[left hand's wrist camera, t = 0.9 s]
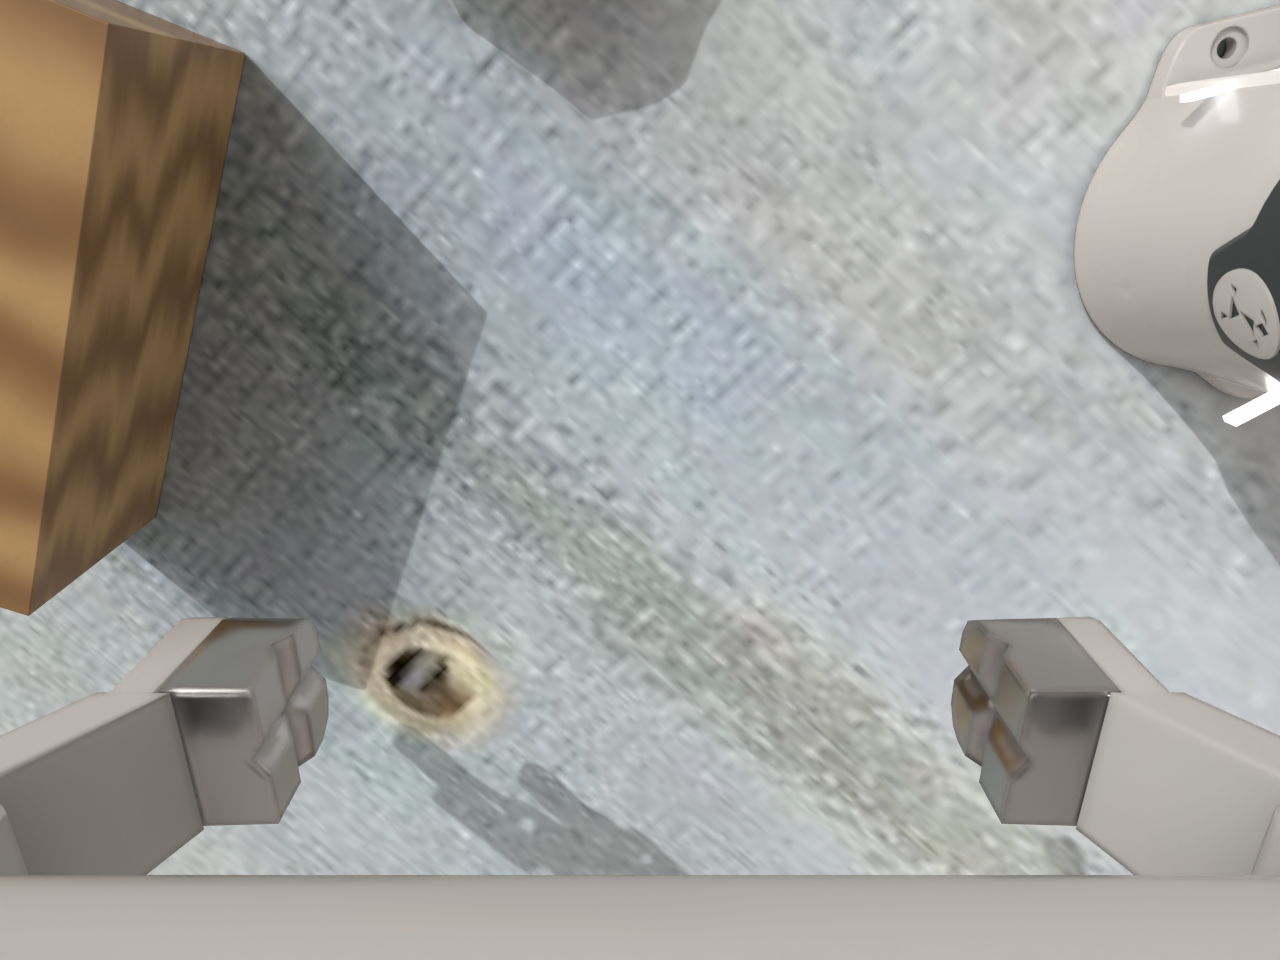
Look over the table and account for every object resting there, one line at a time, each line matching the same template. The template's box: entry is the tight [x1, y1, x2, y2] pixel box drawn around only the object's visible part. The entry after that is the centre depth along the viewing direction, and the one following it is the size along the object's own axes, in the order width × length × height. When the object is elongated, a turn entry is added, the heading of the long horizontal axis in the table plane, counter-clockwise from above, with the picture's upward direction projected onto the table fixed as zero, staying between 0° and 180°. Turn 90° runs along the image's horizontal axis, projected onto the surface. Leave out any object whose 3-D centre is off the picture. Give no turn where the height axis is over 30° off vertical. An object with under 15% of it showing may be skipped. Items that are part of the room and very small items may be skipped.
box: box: [0, 0, 245, 616], centre depth 38 cm, size 25×6×11 cm, turn 159°
